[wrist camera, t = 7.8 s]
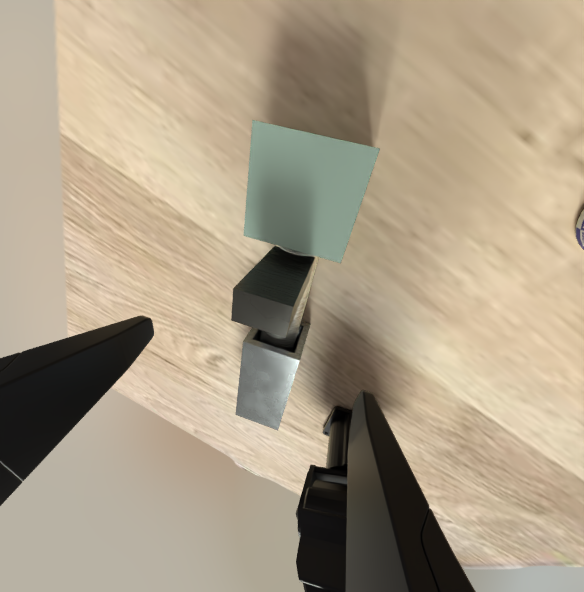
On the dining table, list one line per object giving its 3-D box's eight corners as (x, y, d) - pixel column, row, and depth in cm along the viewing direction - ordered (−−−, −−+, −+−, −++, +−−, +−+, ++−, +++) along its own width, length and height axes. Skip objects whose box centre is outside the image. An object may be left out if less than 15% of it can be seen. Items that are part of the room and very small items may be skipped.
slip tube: (291, 359, 26) (262, 445, 18) (263, 349, 26) (222, 430, 18) (339, 189, 16) (321, 216, 8) (293, 177, 16) (234, 193, 9)
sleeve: (289, 391, 30) (277, 430, 26) (252, 378, 31) (235, 414, 27) (310, 324, 24) (299, 360, 19) (263, 309, 24) (243, 341, 20)
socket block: (345, 237, 19) (340, 263, 14) (271, 217, 19) (243, 235, 15) (373, 152, 15) (380, 148, 11) (282, 131, 16) (252, 119, 11)
